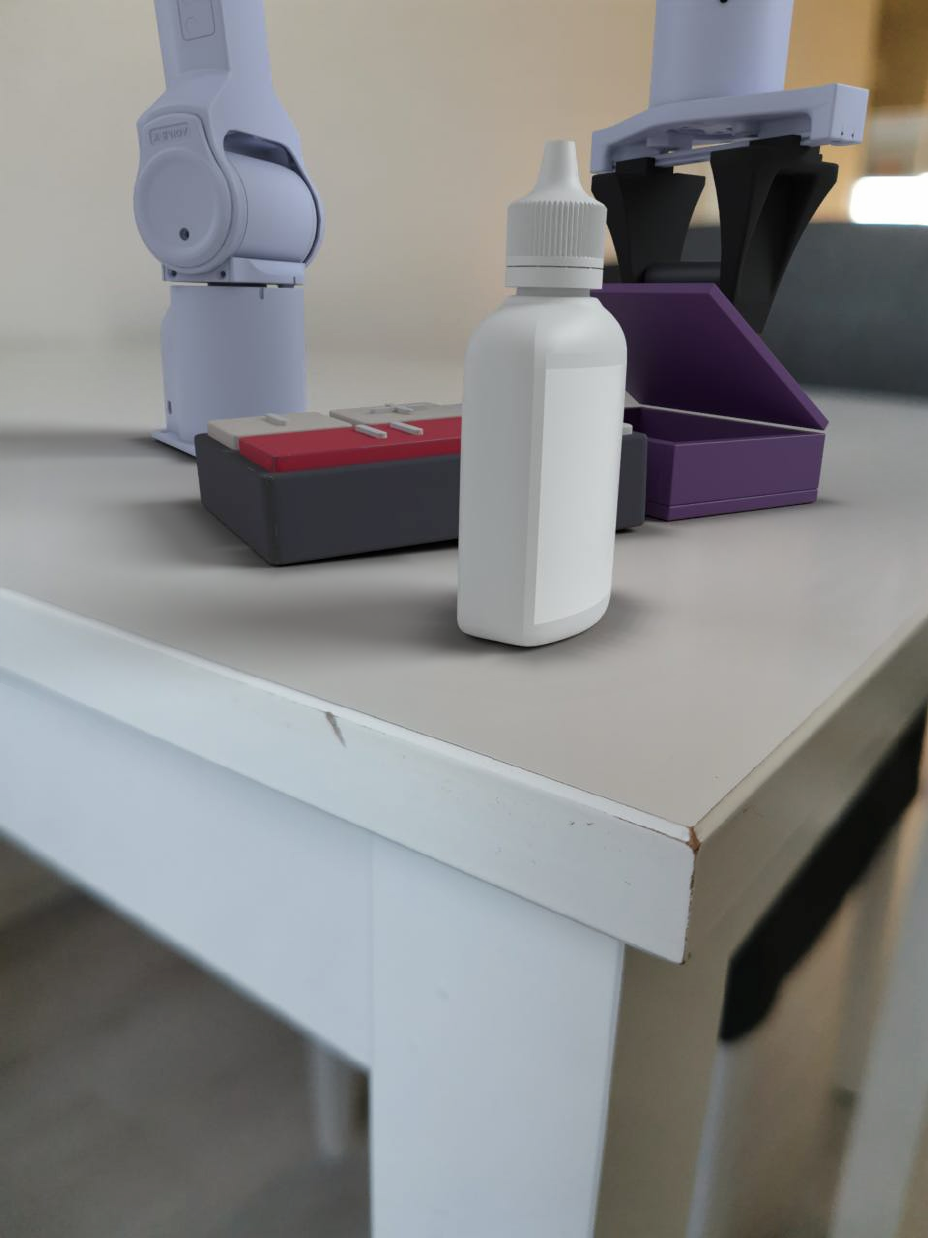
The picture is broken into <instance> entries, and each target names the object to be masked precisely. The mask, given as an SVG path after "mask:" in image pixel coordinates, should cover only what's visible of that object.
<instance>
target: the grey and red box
mask: <svg viewBox="0 0 928 1238" xmlns="http://www.w3.org/2000/svg"><path fill="white" fill-rule="evenodd" d="M207 431H208V433H201V434H197V435H195V437H194V444H195V453H196V457H195V460H196V461H195V462H196V468H197V477H198V486H199V494H200V501H201V505H202V506H204V507H205V508H206V509H207V510H208V511H209V512H210V513H211V514H212V515H213V516H215V517H216V518H217V519H218V520H220V521H221V523H223V524H224V525H225V526H226V527H227V528H229V530H230V531H232V532H233V533H234V534H235V535H237V537H239V538H240V539H241V540H242V541H243V542H245V543H246V544H247V545H248V546H249V547H250V548H251V549H252V550H253V551H255V552H256V553H257V554H258V555H259V556H260V557H261V558H263V559H264V560H265V561H266V562H268V563H269V564H271V565H277V566H278V565H281V566H282V565H289V564H296V563H301V562H302V563H303V562H310V561H315V560H322V559H329V558H336V557H342V556H343V557H344V556H350V555H355V554H362V553H370V552H375V551H383V550H390V549H395V548H402V547H410V546H416V545H422V544H429V543H436V542H443V541H449V540H450V541H451V540H455V539H459V507H460V469H461V432H462V403H452V404H451V403H450V404H442V405H441V404H436V403H433V402H427V401H425V402H424V401H423V402H411V403H397V404H395V403H391V402H389V403H385V404H384V405H375V406H366V407H353V408H352V407H351V408H341V409H339V408H338V409H331V410H329V411H328V415H327V414H324V413H320V412H317V411H307V412H303V413H291V414H279V415H276V414H273V413H269V414H265V416H256V417H244V418H232V419H220V420H211V421H207ZM646 468H647V436H646V435H645V434H643V433H639V432H634V431H632V425H630V424H627V423H623V430H622V444H621V459H620V473H619V487H618V500H617V514H616V528H615V531H619V530H624V529H631V528H636V527H640V526H643V524H644V523H645V516H646V514H645V494H646Z"/></svg>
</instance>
